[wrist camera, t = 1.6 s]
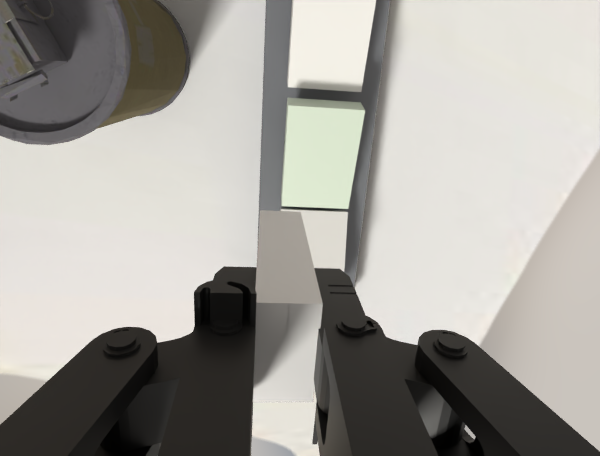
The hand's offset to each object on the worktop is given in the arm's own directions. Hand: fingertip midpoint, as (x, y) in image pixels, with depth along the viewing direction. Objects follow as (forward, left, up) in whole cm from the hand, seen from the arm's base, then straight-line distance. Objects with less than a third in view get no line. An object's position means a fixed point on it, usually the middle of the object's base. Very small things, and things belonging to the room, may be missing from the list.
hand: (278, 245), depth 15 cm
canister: (-13, +7, -27) cm, 30 cm away
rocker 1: (+4, +10, -22) cm, 24 cm away
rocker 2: (+4, -10, -22) cm, 24 cm away
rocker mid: (+4, 0, -22) cm, 22 cm away
